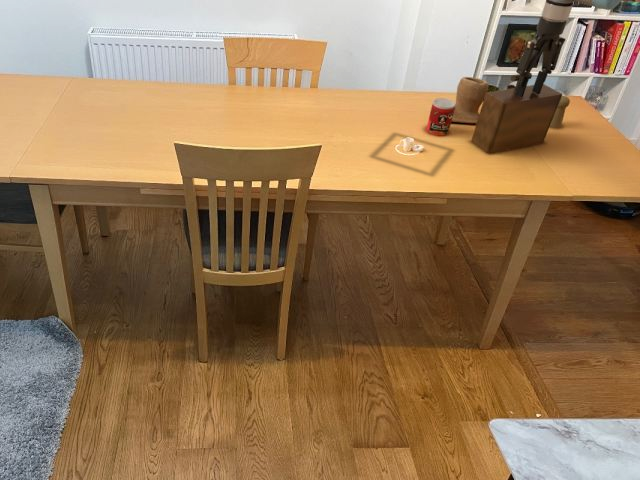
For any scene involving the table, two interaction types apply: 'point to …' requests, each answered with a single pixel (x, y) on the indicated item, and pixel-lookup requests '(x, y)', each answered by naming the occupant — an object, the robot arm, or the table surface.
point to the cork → (560, 112)
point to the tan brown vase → (469, 99)
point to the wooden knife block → (515, 118)
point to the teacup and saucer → (410, 146)
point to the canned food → (440, 116)
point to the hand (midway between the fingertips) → (527, 93)
